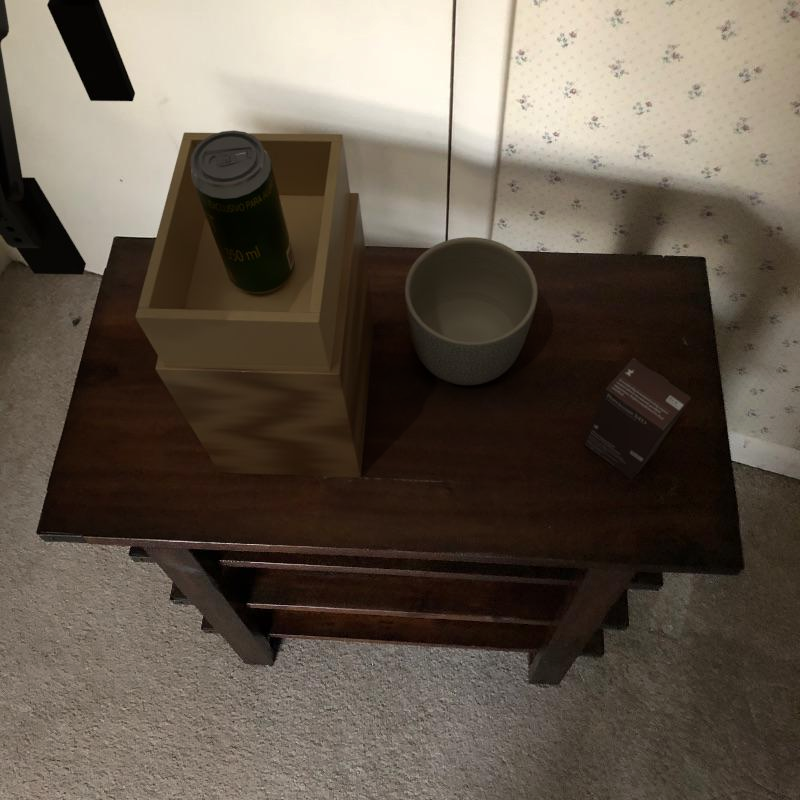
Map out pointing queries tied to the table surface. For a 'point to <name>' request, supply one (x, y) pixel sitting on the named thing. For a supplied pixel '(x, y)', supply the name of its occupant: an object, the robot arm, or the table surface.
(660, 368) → the table surface
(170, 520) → the table surface
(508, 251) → the planter
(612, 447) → the box
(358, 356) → the stand
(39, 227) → the robot arm
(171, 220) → the open bin
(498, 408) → the table surface
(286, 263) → the beer can
